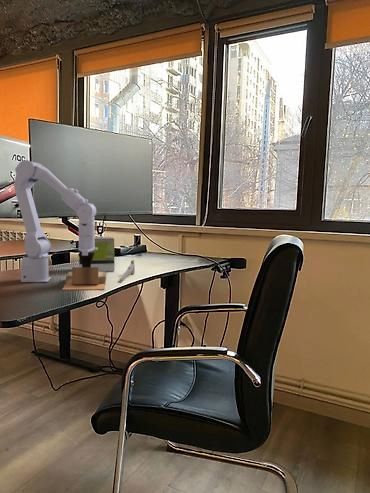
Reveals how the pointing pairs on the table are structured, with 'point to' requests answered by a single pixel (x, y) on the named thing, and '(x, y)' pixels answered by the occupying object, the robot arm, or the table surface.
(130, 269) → the caliper
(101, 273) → the birch deck
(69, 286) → the terracotta mat
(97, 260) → the tea box
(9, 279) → the table surface
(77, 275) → the walnut tile
